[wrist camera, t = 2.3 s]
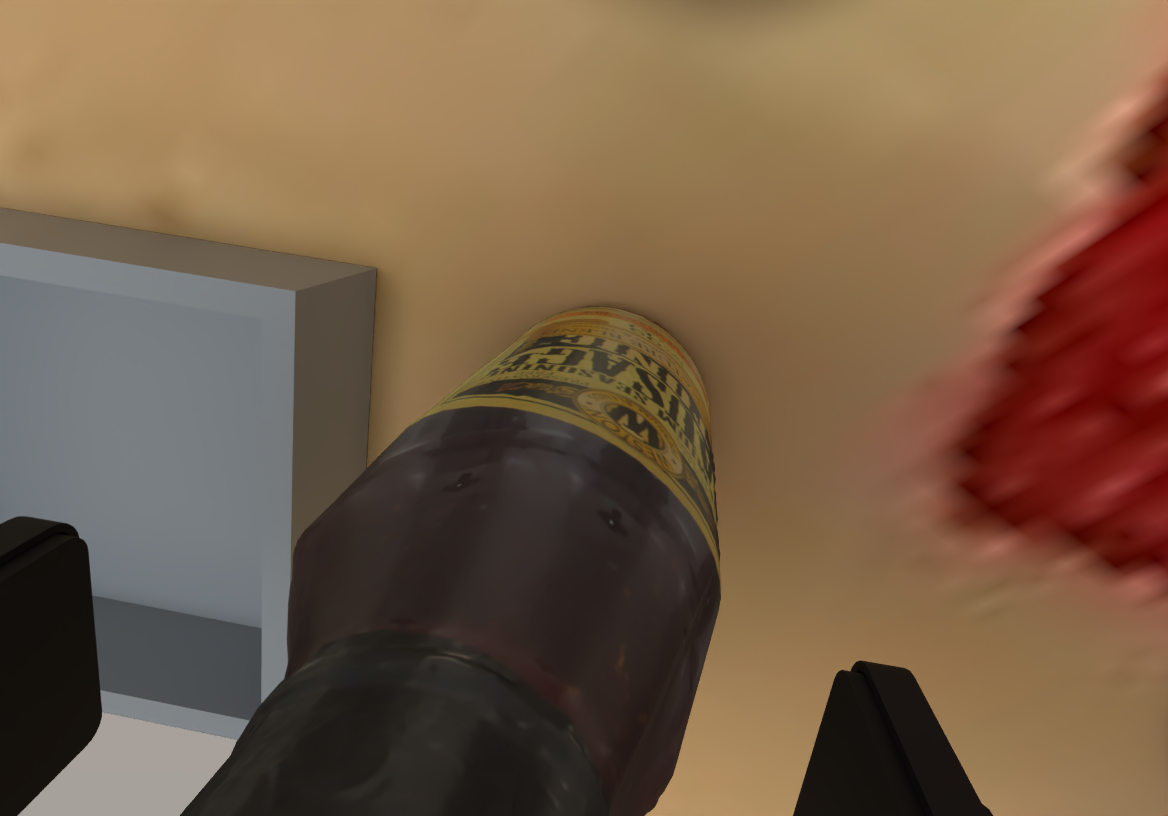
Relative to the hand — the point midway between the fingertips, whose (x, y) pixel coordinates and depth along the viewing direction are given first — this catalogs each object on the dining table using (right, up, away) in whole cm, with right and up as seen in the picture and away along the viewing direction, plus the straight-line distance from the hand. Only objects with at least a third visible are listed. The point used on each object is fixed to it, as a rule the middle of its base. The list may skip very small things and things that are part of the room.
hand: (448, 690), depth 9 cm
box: (-12, +2, +15) cm, 20 cm away
